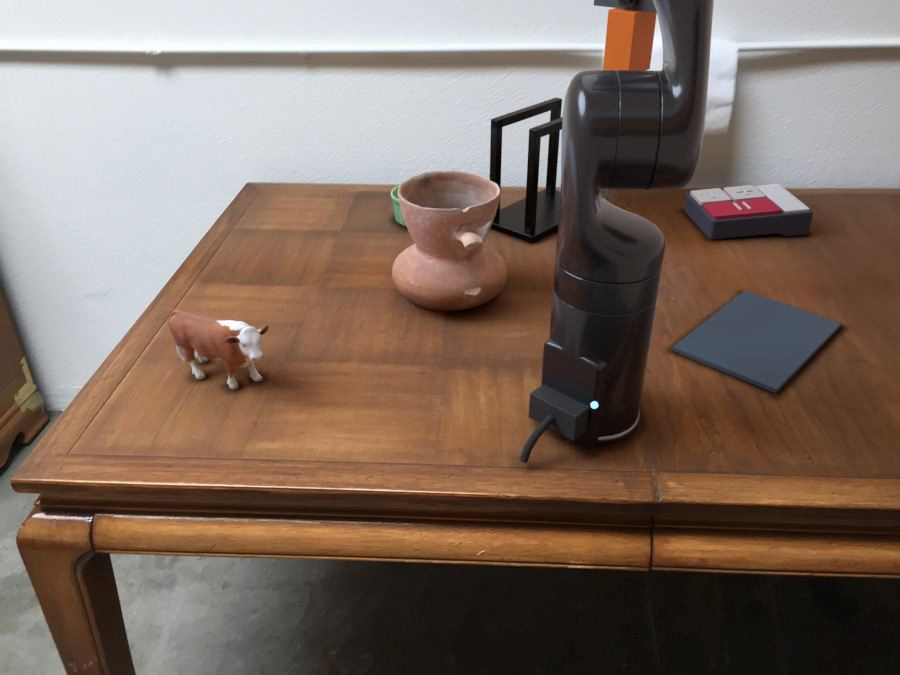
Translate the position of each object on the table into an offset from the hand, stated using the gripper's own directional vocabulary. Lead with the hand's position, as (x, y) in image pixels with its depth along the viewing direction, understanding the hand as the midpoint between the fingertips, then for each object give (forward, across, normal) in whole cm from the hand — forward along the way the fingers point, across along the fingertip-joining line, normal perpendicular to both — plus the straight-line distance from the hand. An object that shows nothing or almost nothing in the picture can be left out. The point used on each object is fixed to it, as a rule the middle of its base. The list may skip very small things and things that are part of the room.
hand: (633, 4), depth 90 cm
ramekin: (+32, +8, -28) cm, 44 cm away
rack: (+32, -5, -15) cm, 36 cm away
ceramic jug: (+33, +22, -9) cm, 41 cm away
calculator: (+32, -24, +9) cm, 41 cm away
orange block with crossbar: (+7, 0, 0) cm, 7 cm away
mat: (+33, +6, +25) cm, 42 cm away
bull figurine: (+33, +52, -14) cm, 63 cm away
